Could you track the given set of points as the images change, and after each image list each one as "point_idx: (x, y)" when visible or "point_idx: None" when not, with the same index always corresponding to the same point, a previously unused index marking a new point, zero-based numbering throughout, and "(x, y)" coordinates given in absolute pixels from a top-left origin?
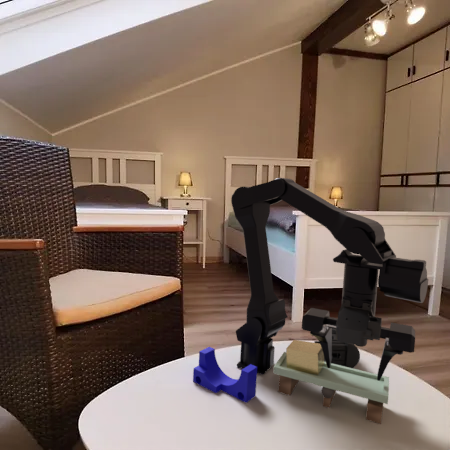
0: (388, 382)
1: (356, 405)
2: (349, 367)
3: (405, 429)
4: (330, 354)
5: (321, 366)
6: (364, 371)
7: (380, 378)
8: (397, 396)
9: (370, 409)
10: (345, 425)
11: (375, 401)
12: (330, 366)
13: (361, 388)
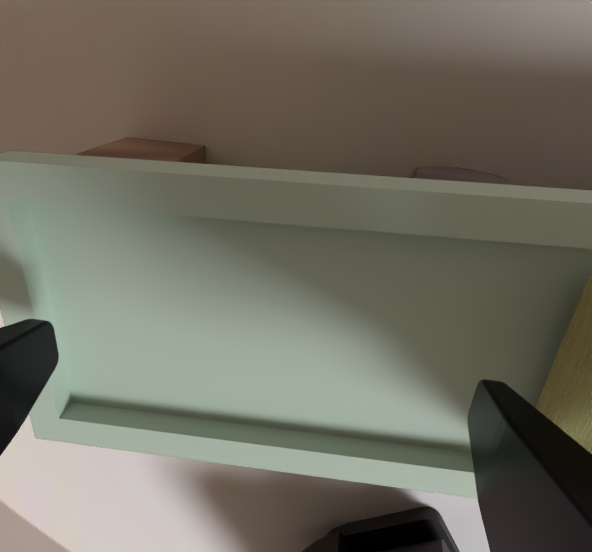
0: None
1: None
2: (319, 548)
3: (13, 150)
4: (520, 522)
5: (550, 408)
6: (194, 456)
7: (6, 326)
8: None
9: (157, 155)
10: (311, 16)
11: None
12: (471, 409)
13: (174, 191)
